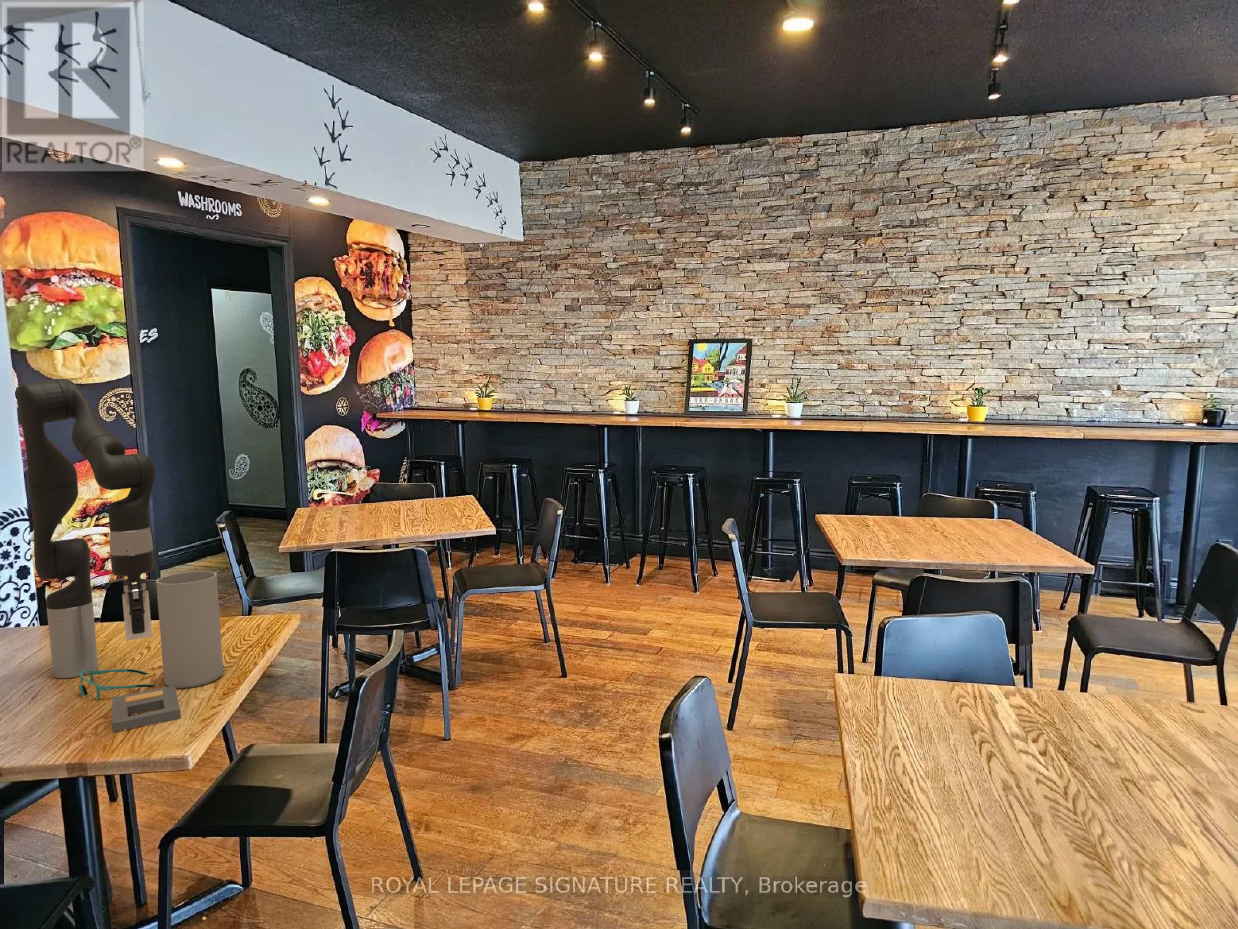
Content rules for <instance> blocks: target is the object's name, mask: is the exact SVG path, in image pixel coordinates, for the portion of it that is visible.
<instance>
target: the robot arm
mask: <svg viewBox="0 0 1238 929" xmlns="http://www.w3.org/2000/svg"><path fill="white" fill-rule="evenodd" d="M16 403H17V409H18V414H19V415H18V416H19V419H20V425H21V429H22V434H23V435H22V436H23V439H24V440H23V441H24V446H25V454H26V455H25V456H26V465H27V466H26V469H27V470H26V472H27V482H28V493H29V499H30V506H31V514H32V522H33V524H32V525H33V552H34V555H33V557H34V567H35V573H36V574H37V576H38V578H39V579H41V580H45V581H46V580H47V581H48V580H57V579H65V578H73V577H74V579H73V580H72V581H71V582H70V583H69V584H67V585H66V586H64V587H62V588H60V589H58V590H55V591H53V592H51V593H49V594H48V595H47V596H46V598H45V605H46V616H47V621H48V622H47V624H48V634H49V643H50V647H49V648H50V656H51V667H52V676H53V677H54V678H56V679H70V678H77V677H80V673H81V672H82V671H87V670H93V671H97V670H98V669H99V659H98V648H97V638H96V637H97V635H96V627H95V626H96V625H95V623H96V622H95V614H94V603H93V594H92V584H91V557H90V547H89V543H88V542H87V541H86V539H85V538H81V537H80V538H79V537H78V538H71V539H70V538H69V539H68V538H67V539H60V540H52V539H53V538H52V537H53V535H54V532H55V531H56V529H57V527H58V525H59V524H60V523H61V521H62V520H63V518H65V517H66V515H67V514H68V513H69V511H70V510H71V509H72V508H73V506H74V504H76V501H77V499H78V497H79V486H78V485H79V484H78V473H77V470H76V467H75V465H74V464H73V463H72V461H70V460H69V459H68V457H66V456H65V455H64V454H63V453H62V452H60V450H59V449H58V448H57V447H55V445H53V443H52V442H51V441H50V439H49V438H48V437H47V434H46V432H45V424H46V423H52V422H53V423H54V422H59V421H60V422H61V421H65V420H69V419H74V420H75V423H74V425H73V429H72V434H71V440H72V443H73V445H74V447H75V448H76V450H77V451H78V452H79V453H80V455H81V456H83V457H84V459H86V460H87V461H88V463H89V466H90V467H91V470H92V473H93V476H94V479H95V482H96V484H97V485H98V486H99V487H101V488H102V489H105V490H109V491H118V490H124V489H125V490H126V489H127V490H128V489H129V492H128V494H127V496H126V497H124V498H122V499H119V500H115V501H113V502H112V503H110V504H109V506H108V508H107V509H108V523H109V552H110V553H109V554H110V564H111V573H112V575H113V576H116V577H123V576H124V577H127V579H126V580H125V581H123V582H122V583H123V592H124V594H126V604H127V605H128V606H130V612H129V615H130V617H131V622H132V633H133V634H139V633H143V632H144V631H145V627H144V613H145V610H144V605H143V604H144V603H145V602H146V597H145V591H146V590H147V582H146V578H142V577H141V576H142V575H143V574H148V573H150V572H152V571H154V569H155V561H154V560H155V555H154V545H153V544H154V543H153V538H152V537H153V536H152V532H151V527H150V525H151V524H150V516H149V515H150V514H149V508H150V501H151V497H152V496H151V495H152V490H153V487H154V483H155V479H156V466H155V464H154V463H155V462H153V460H152V458H151V457H150V456H149V455H147V454H145V453H129V454H126V448H125V446H124V444H123V443H122V441H120V439H118V437H116V436H115V434H113V433H112V432H111V431H110V430H109V429H108V428H107V427H106V426H105V425H104V423H103V422H102V421H101V420H100V418H99V416H98V415H97V413H96V412H95V410H94V408H93V407H92V405H91V403H90V402H89V401H88V399H87V398H86V396H85V395H84V394H83V392H82V391H81V389H80V387H78V386H77V384H75V383H74V382H73V381H72V380H70V379H67V378H52V379H44V380H35V381H28V382H24V383H21V384H20V385H19V386H18V387H17V391H16ZM139 605H140V606H141V608H140V609H134V610H132V607H133V606H139ZM97 668H98V669H97ZM96 669H97V670H96ZM84 674H85V675H88V674H89V675H90V672H86V673H84ZM84 674H83V676H85V675H84Z"/></svg>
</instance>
